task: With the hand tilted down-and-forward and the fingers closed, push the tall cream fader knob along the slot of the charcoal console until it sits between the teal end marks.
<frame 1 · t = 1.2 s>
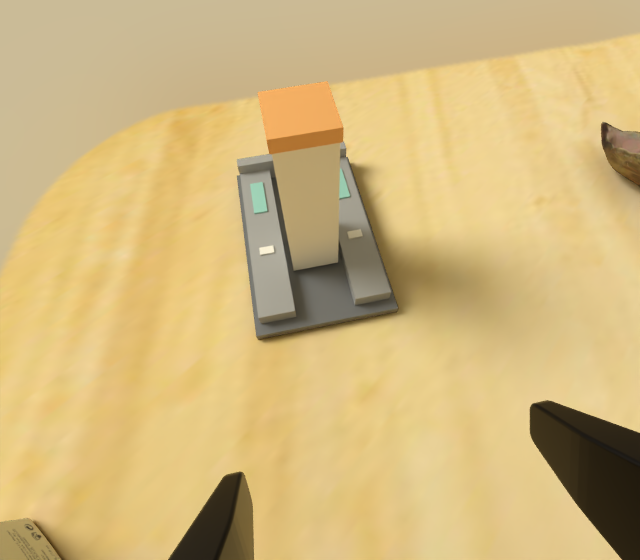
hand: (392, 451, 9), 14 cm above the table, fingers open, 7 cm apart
console: (308, 238, 28), on the table
fader knob: (306, 194, 22), point 7 cm above the table, slide at 0.0 cm
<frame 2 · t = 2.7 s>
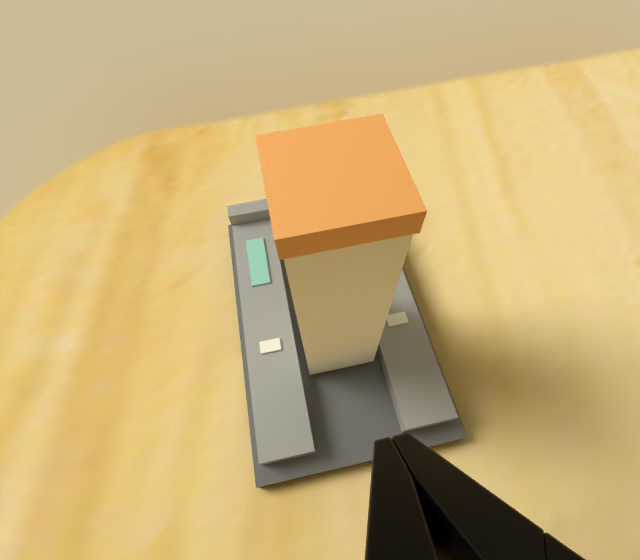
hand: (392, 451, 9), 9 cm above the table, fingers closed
console: (328, 318, 20), on the table
fader knob: (334, 284, 14), point 7 cm above the table, slide at 0.0 cm
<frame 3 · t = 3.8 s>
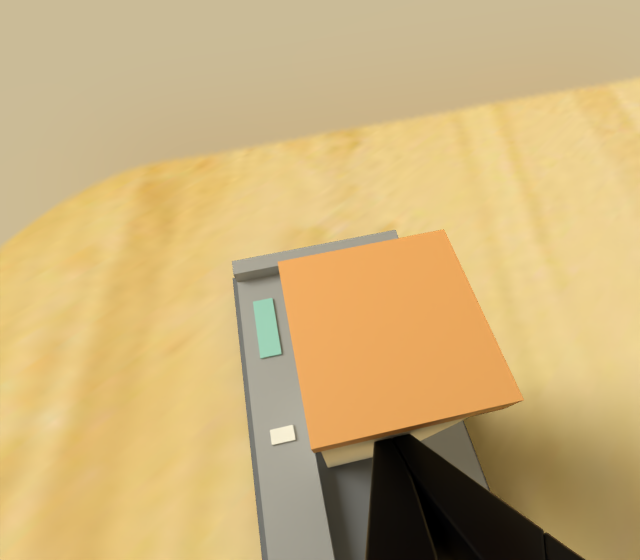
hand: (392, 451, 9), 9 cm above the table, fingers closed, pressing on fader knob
console: (346, 391, 18), on the table
fader knob: (364, 393, 11), point 7 cm above the table, slide at 0.0 cm, touching gripper
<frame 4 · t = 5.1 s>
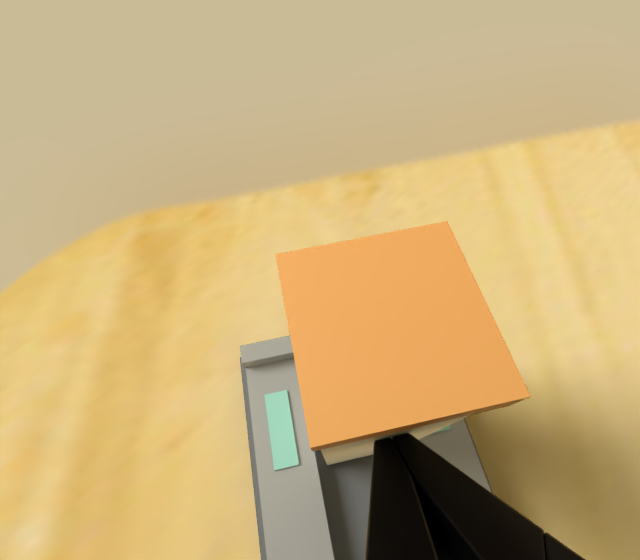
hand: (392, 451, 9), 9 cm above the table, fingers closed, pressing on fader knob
console: (373, 503, 15), on the table
fader knob: (364, 389, 11), point 7 cm above the table, slide at 4.9 cm, touching gripper
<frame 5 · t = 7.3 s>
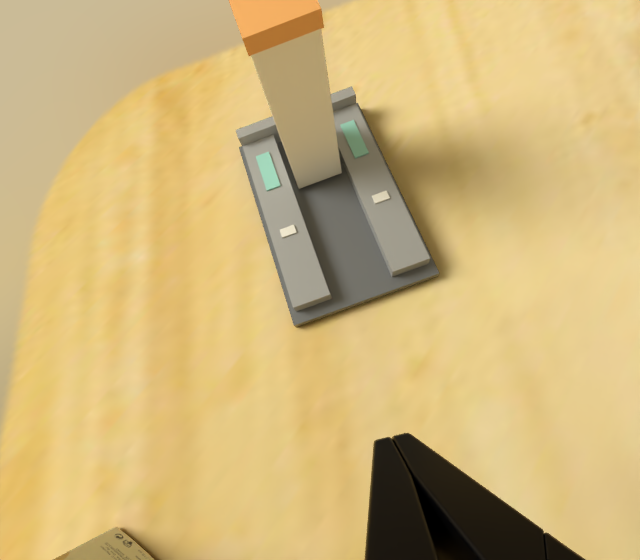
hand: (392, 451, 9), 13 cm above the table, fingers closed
console: (329, 208, 26), on the table
fader knob: (297, 101, 21), point 7 cm above the table, slide at 4.9 cm
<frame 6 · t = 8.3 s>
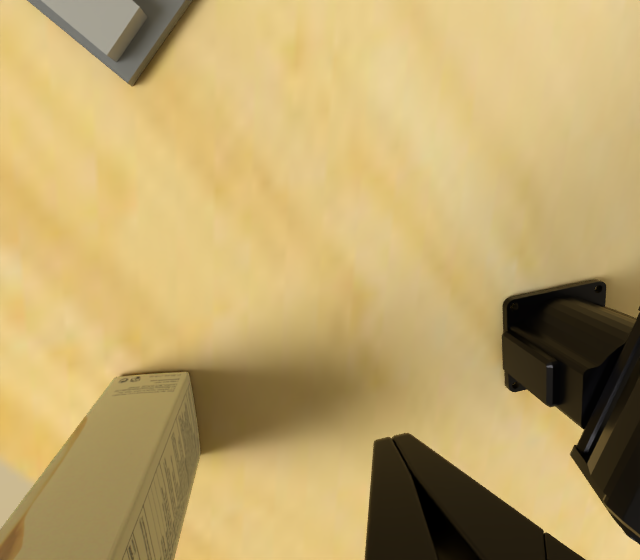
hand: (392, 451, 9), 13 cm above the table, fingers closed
skincare box 2: (161, 417, 22), on the table
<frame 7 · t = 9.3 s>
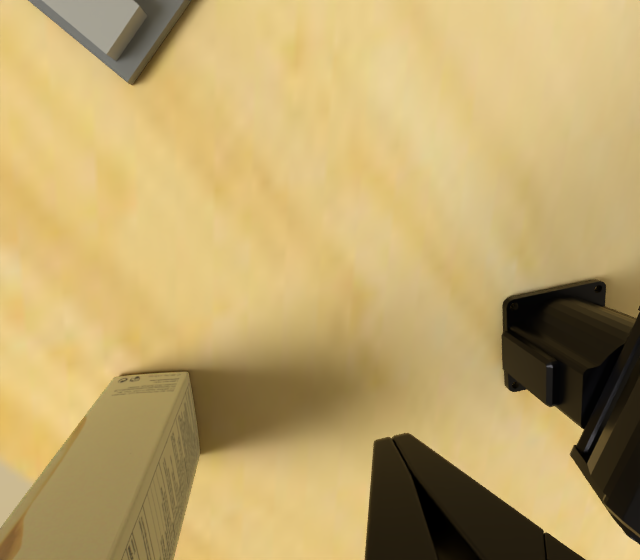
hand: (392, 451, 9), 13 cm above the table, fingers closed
skincare box 2: (160, 416, 22), on the table
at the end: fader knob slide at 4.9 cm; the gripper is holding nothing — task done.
